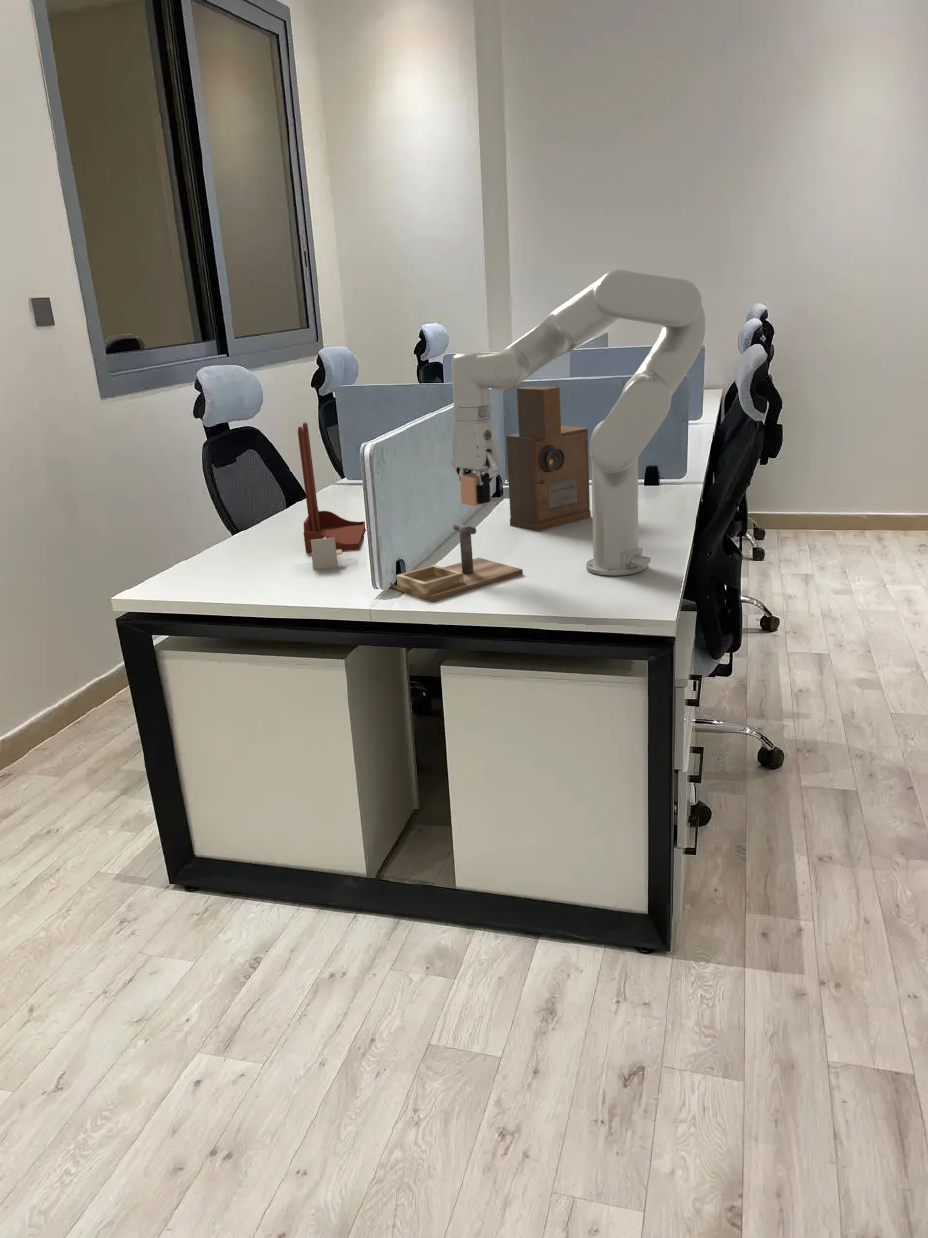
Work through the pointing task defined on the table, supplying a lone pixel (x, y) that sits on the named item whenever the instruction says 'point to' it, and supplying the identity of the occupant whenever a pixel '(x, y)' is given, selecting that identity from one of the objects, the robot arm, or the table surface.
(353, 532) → the red dustpan
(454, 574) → the wooden board with post
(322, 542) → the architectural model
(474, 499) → the salmon orange block
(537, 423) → the vintage camera
